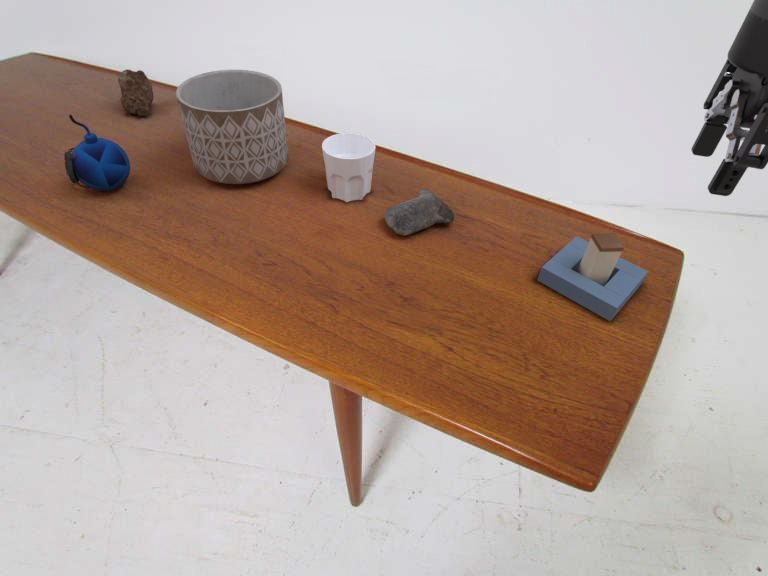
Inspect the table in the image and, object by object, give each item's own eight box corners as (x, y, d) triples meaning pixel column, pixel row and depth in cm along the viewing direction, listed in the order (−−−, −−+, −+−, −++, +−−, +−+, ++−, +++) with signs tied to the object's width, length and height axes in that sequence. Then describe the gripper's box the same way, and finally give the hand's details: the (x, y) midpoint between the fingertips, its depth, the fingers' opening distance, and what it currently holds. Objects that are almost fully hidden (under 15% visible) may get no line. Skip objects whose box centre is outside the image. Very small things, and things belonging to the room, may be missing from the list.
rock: (142, 120, 118) (122, 76, 112) (124, 119, 121) (103, 77, 114) (170, 104, 124) (152, 62, 118) (152, 104, 127) (134, 63, 121)
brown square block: (604, 289, 82) (624, 247, 76) (582, 290, 82) (601, 248, 76) (595, 274, 85) (614, 232, 79) (574, 275, 85) (592, 233, 79)
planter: (177, 182, 100) (154, 102, 88) (221, 138, 114) (207, 64, 102) (267, 198, 97) (256, 117, 86) (302, 151, 111) (296, 76, 99)
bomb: (73, 181, 98) (40, 108, 88) (131, 169, 103) (106, 97, 92) (79, 207, 92) (44, 131, 82) (141, 193, 97) (115, 119, 86)
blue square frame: (641, 284, 84) (648, 271, 82) (609, 321, 77) (617, 308, 75) (571, 248, 90) (576, 235, 88) (537, 280, 83) (541, 267, 81)
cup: (380, 200, 98) (382, 155, 92) (331, 208, 96) (329, 162, 89) (365, 174, 105) (366, 130, 98) (318, 181, 102) (316, 136, 96)
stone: (380, 223, 97) (400, 252, 90) (374, 202, 94) (394, 230, 87) (435, 199, 99) (459, 225, 92) (431, 177, 95) (456, 203, 88)
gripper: (732, -11, 50) (662, 139, 61) (779, 32, 40) (685, 202, 51) (814, -3, 49) (727, 148, 60) (883, 43, 39) (764, 214, 50)
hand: (708, 173), depth 56 cm, fingers open, 8 cm apart
